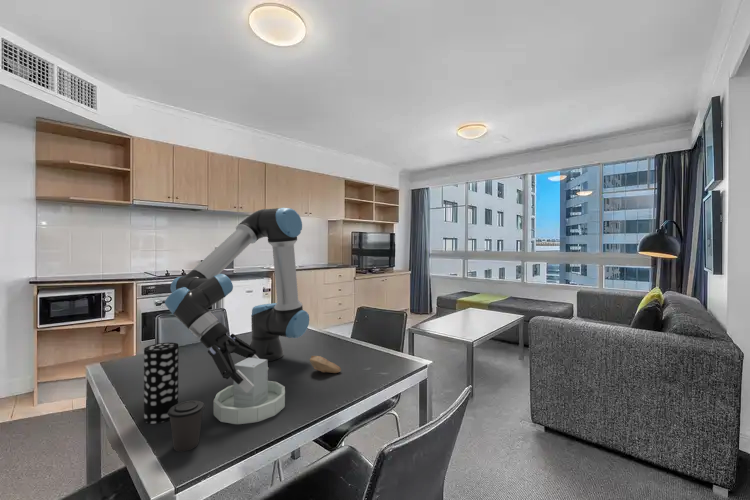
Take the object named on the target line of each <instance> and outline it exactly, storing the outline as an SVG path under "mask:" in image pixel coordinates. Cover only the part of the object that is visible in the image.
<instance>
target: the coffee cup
mask: <svg viewBox="0 0 750 500" xmlns="http://www.w3.org/2000/svg"><path fill="white" fill-rule="evenodd" d="M205 407H206V405H205V403H204V402H203V401H201V400H187V401H182V402H178V404H176V405H174V406H172V407H171V408H170V409H169V411H168V413H167V414H168V416H170V420H169V422H170V429H171V436H172V443H173V449H174V451H176V452H185V451H190V450H192V449H194V448H195V447H197V446H198V445H199V441H200V435H201V427H202V419H203V418H202V417H203V410H204V409H205Z"/></svg>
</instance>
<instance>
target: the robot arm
mask: <svg viewBox="0 0 750 500" xmlns="http://www.w3.org/2000/svg"><path fill="white" fill-rule="evenodd" d="M302 230H303V222H302V218H301V216H300V215H299V213H298V212H297V211H296V210H295V209H293V208H289V207H279V208H263V209H258V210H257V211H255V212H253V213H251V214H250V215H248V216H247V217H246V218H244V219H243V220H242V221H241V222H240V223H239V224H237V226H236V227H235V231H234V232H233V233H231V235H230V236H228V237H227V238H226V239H225V240H224V241H223V242H221V243H220V244H219V245H218V246H217V247H216V248H215V249H214V250H212V252H210V253H209V254H208V255H207V256H206V257H205V258H203V260H202V261H201V262H200V263H198V264H197V265H196V266H195V267H194V268H193V269H192V270H191V271H189V272H188V273H186V275H183V276H182V275H181V276H177V277H176V278H174V279H173V280H172V282H171V283H170V294H169V295H168V296H167V297H166V298H165V300H164V304H165V307H166V308H167V309H168V310H169V312H170V313H171V314H172V315H174V317H176V318H177V320H179V321H180V322H181V324H183V325H184V326H185V327H186V328H187V329H188V330H189V331H190V332H191V334H192V335H193V336H195V337H196V338H197V339H199V341H200V343H201V344H203V345H204V346H205V347H206V348H207V349H208V350H207V353H208V354H209V355H210V357H211V358H212V360H213V361H214V363H215V365H216V367H217V368H218V371H219V373H220V375H221V376H222V378H223V379H225V380H228V379H230V378H231V379H232V381H233V382H234V381H235V382H236V383H237V384H238V385H239V386H240V387H241V388H242V389H243V390H244V391H245V392H246V393H247V392H248V391H250V390H251V389H252V388H253V387H254V385H253V384H252V383H251V382H250V381H249V380H248V379H247V378H246V377H245V376H244V375H243V374H242V373H241V372H240V371H239V370H237V371H236V368H235V366H234V365H235V363H234V361H233V358H232V355H231V354H237V355H239V356H242V357H244V358H245V359H247V358H257V359H266V360H268V362H271V361H277V360H278V359H281V358H282V357H283V356H284V349H283V345H282V342H281V339H280V337H285V338H287V339H299V338H301V337H302V336H303V335H304V334H305V333H306V332H307V329H308V328H309V325H310V315H309V312H307V311H306V310H303V309H304V308H303V307H304V306H303V303H302V302H301V301H300V300H299V293H298V291H299V290H298V281H297V280H298V279H297V265H296V256H295V244H296V242H298V237H299V235H300V234H301V232H302ZM266 237H267V243H268V244H269V245H270V246H271V247H272V257H273V268H274V281H275V290H276V301H277V302H274V303H271V302H270V303H265V304H258V305H254V306H253V307H252V308H251V318H250V319H251V341H250V344H248V343H247V342H245V341H244V340H242V339H241V338H239V337H237V335H236V334H234V333H231V334H230V335H227V333H228V331H229V329H228V328H227V327H226V326H225V325H224V324H223V323H222V322H219V321H220V320H219V319H218V318H217V317H216V316H215V315H214V314H213V313H212V312H211V311H210V310H209V309H210V308H211V307H213V305H215V304H217V303H218V302H219V301H221V300H223V299H224V298H226V297H227V296H228V295H229V294H231V293H232V292H233V289H234V285H233V282H232V279H230V277H229V276H227V275H226V274H225V273H222V272H223V271H224V270H225V269H226V268H227V267H228V266H229V265H230V264H231V263H232V262H233V261H234V260H235V259H236V258H237V257H238V256H239V255H240V254H241V253H242V252H243V251H245V249H246V248H248V246H250V244H255V243H256V242H257V241H258V240H260V239H263V238H266ZM269 369H270V368H269V367H268V370H269Z"/></svg>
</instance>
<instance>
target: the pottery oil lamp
mask: <svg viewBox="0 0 750 500" xmlns="http://www.w3.org/2000/svg"><path fill="white" fill-rule="evenodd" d="M309 363H310V365H311V366H312V367H313V370H316V371H319V372H321V373H332V374H337V373H339V372H341V371H342V368H341V367H340V366H339V365H337V364H336V363H335V362H331V361H329V360H328V359H327V358H325V357H322V356H321V355H311V357H310V358H309Z"/></svg>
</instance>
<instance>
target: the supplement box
mask: <svg viewBox="0 0 750 500" xmlns="http://www.w3.org/2000/svg"><path fill="white" fill-rule="evenodd" d="M268 363H269V361H268V360H266V359H257V358H244V359H243V360H241V361H239V362H236V363H234V366H235V368H236V371H237V370H239V371H240V372H241V373H242V374H243V375H244V376H245V377H246V378H247V379H248V380H249V381H250V382H251V383H252V384H253V385H254V387H253V388H252V389H251V390H250V391H248V392H247V393H246V392H245V391H244V390H243V389H242V388H241V387H240V386H239V385H238V384H237V383H236V382H235V381H234V380H233V385H234V406H236V407H242V408H245V407H254V406H259V405H261V404H262V403H263V402H265V401H266V400H267V399H268V381H269V379H268V377H269V375H268V370H269V369H268V368H269V367H268Z"/></svg>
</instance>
